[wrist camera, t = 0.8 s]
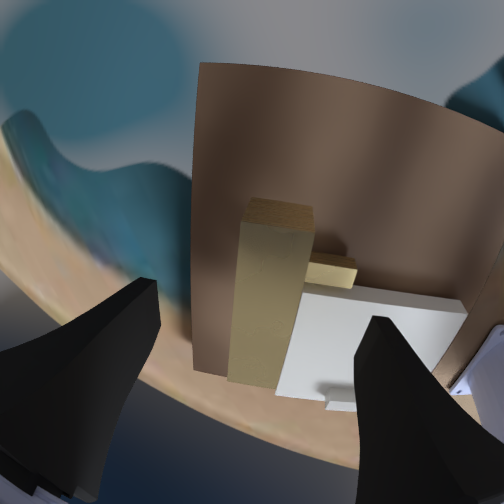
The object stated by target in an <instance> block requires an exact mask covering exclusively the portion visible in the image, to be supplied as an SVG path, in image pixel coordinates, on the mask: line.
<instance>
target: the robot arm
mask: <svg viewBox="0 0 504 504" xmlns="http://www.w3.org/2000/svg"><path fill="white" fill-rule="evenodd" d="M160 327H161V320H160V311H159V301H158V291H157V280H152V279H147V278H143V277H140V278H138V279H136V280H135V281H133V282H131V283H130V284H128V285H127V286H125V287H124V288H122V289H121V290H119V291H118V292H116V293H115V294H113V295H112V296H110V297H109V298H107V299H106V300H104V301H103V302H101V303H100V304H98V305H97V306H95V307H93V308H92V309H90V310H89V311H87V312H85V313H84V314H82V315H80V316H79V317H77V318H75V319H74V320H72V321H70V322H68V323H67V324H65V325H63V326H61V327H59V328H58V329H55V330H53V331H51V332H49V333H47V334H45V335H43V336H41V337H39V338H36V339H34V340H31V341H29V342H26V343H24V344H21V345H19V346H16V347H13V348H10V349H7V350H4V351H1V352H0V504H68V503H67V502H65V501H63V500H61V499H60V497H61V495H64V496H66V497H68V498H70V499H71V498H72V497H73V496H75V497H77V498H79V499H81V500H83V501H85V502H87V503H91V502H94V501H96V500H97V499H98V493H99V487H100V482H101V477H102V472H103V468H104V464H105V460H106V457H107V453H108V449H109V445H110V443H111V439H112V436H113V433H114V429H115V427H116V424H117V421H118V418H119V415H120V413H121V410H122V407H123V405H124V403H125V401H126V398H127V396H128V394H129V393H130V391H131V389H132V387H133V385H134V383H135V381H136V379H137V377H138V375H139V373H140V372H141V370H142V368H143V366H144V364H145V362H146V360H147V358H148V356H149V354H150V352H151V350H152V348H153V346H154V343H155V340H156V338H157V335H158V332H159V330H160ZM354 391H355V399H356V408H357V417H358V426H359V437H360V462H359V477H358V488H357V496H356V503H355V504H504V325H497V326H495V327H494V328H493V329H492V331H491V333H490V334H489V336H488V337H487V339H486V340H485V342H484V343H483V345H482V346H481V348H480V349H479V351H478V352H477V354H476V355H475V357H474V358H473V359H472V361H471V362H470V364H469V365H468V366H467V368H466V369H465V370H464V372H463V373H462V374H461V376H460V377H459V378H458V379H457V381H456V382H455V383H454V385H453V386H452V387H451V388H450V390H449V393H450V395H465V394H472V396H473V399H474V402H475V405H476V408H477V411H478V415H479V418H480V421H481V424H482V426H481V425H480V424H479V423H477V422H476V421H475V420H474V419H473V418H472V417H471V416H470V415H469V414H468V413H467V412H466V411H465V410H463V409H462V408H461V407H460V405H459V404H458V403H457V402H456V401H455V400H454V399H453V398H452V397H451V396H450V395H449V394H448V393H447V391H446V390H445V389H444V388H443V387H442V386H441V384H440V383H439V382H438V381H437V380H436V378H435V377H434V376H433V375H432V374H431V372H430V371H429V370H428V368H427V367H426V366H425V365H424V363H423V362H422V361H421V359H420V358H419V357H418V355H417V354H416V353H415V351H414V350H413V348H412V347H411V346H410V344H409V343H408V342H407V340H406V339H405V338H404V336H403V335H402V333H401V332H400V331H399V329H398V328H397V327H396V325H395V324H394V323H393V322H392V320H391V319H390V318H389V317H384V316H375V315H372V317H371V320H370V322H369V324H368V327H367V329H366V331H365V333H364V336H363V338H362V340H361V342H360V344H359V346H358V348H357V351H356V353H355V355H354Z"/></svg>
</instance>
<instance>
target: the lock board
mask: <svg viewBox="0 0 504 504" xmlns="http://www.w3.org/2000/svg"><path fill="white" fill-rule="evenodd" d="M251 197H256V198H263V199H269V200H276V201H282V202H289V203H295V204H301V205H307V206H313V215H314V225H315V237H314V241H313V246H312V250H311V251H315V252H321V253H327V254H333V255H339V256H345V257H351V258H354V259H355V262H356V266H357V273H356V276H355V279H354V283H353V285H356V286H363V287H369V288H376V289H383V290H390V291H397V292H404V293H411V294H418V295H425V296H432V297H440V298H447V299H454V300H460V301H461V303H462V304H463V306H464V308H465V310H466V311H467V313H468V315H469V313H470V311H471V310H472V308H473V306H474V304H475V302H476V300H477V299H478V297H479V295H480V293H481V291H482V289H483V287H484V285H485V283H486V281H487V279H488V277H489V274H490V272H491V270H492V268H493V266H494V264H495V261H496V259H497V257H498V254H499V252H500V250H501V247H502V245H503V242H504V133H503V132H501V131H498V130H496V129H494V128H492V127H490V126H488V125H486V124H484V123H481V122H479V121H477V120H475V119H472V118H470V117H468V116H465V115H463V114H460V113H458V112H455V111H453V110H450V109H447V108H445V107H442V106H439V105H437V104H434V103H431V102H428V101H425V100H422V99H419V98H416V97H413V96H410V95H406V94H403V93H400V92H397V91H393V90H390V89H386V88H382V87H379V86H375V85H371V84H367V83H363V82H358V81H354V80H350V79H345V78H340V77H335V76H330V75H325V74H319V73H313V72H307V71H301V70H293V69H286V68H278V67H269V66H259V65H246V64H230V63H200V67H199V77H198V89H197V101H196V115H195V129H194V147H193V169H192V195H191V320H192V348H193V369H194V370H196V371H200V372H205V373H209V374H214V375H219V376H224V377H227V375H228V362H229V350H230V338H231V326H232V314H233V302H234V291H235V279H236V268H237V257H238V246H239V236H240V225H241V220H242V217H243V215H244V213H245V211H246V208H247V206H248V204H249V202H250V199H251ZM468 315H467V317H468ZM467 317H466V319H467ZM466 319H465V320H466ZM464 322H465V321H464ZM464 322H463V324H464ZM463 324H462V325H463ZM461 327H462V326H461ZM461 327H460V329H461ZM460 329H459V331H460ZM459 331H458V332H459ZM458 332H457V334H458ZM457 334H456V335H457ZM455 337H456V336H455ZM455 337H454V339H455ZM454 339H453V340H454ZM452 342H453V341H452ZM452 342H451V344H452ZM451 344H450V345H451ZM450 345H449V347H450ZM449 347H448V348H449ZM448 348H447V350H448ZM447 350H446V351H447ZM445 353H446V352H445ZM445 353H444V354H445ZM443 356H444V355H443ZM443 356H442V357H443ZM441 359H442V358H441ZM441 359H440V360H441ZM439 362H440V361H439ZM439 362H438V363H439ZM437 365H438V364H437ZM437 365H436V366H437ZM436 366H435V368H436ZM435 368H434V369H435ZM434 369H433V370H434ZM432 372H433V371H432ZM432 372H431V373H432Z"/></svg>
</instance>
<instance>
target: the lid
mask: <svg viewBox="0 0 504 504" xmlns="http://www.w3.org/2000/svg"><path fill="white" fill-rule="evenodd" d="M372 315H375V316H384V317H389V318H390V319H391V320H392V322H393V323H394V324H395V325H396V327H397V328H398V329H399V331H400V332H401V333H402V335H403V336H404V338H405V339H406V340H407V342H408V343H409V344H410V346H411V347H412V348H413V350H414V351H415V353H416V354H417V355H418V357H419V358H420V359H421V361H422V362H423V363H424V365H425V366H426V367H427V368H428V370H429V371H430V372H432V371H433V369H434V368H435V366H436V365H437V364H438V362H439V361H440V359H441V358H442V356H443V355H444V353H445V352H446V350H447V348H448V347H449V345H450V344H451V342H452V341H453V339H454V337H455V336H456V334H457V332H458V331H459V329H460V327H461V326H462V324H463V322H464V321H465V319H466V317H467V315H468V313H467V311H466V310H465V308H464V306H463V304H462V303H461V301H460V300H454V299H447V298H440V297H432V296H425V295H418V294H411V293H404V292H397V291H390V290H383V289H376V288H369V287H363V286H356V285H353V286H352V288H351V289H348V288H341V287H335V286H328V285H322V284H315V283H309V282H304V285H303V289H302V293H301V298H300V302H299V306H298V310H297V314H296V318H295V321H294V325H293V329H292V333H291V337H290V341H289V344H288V348H287V352H286V355H285V359H284V363H283V366H282V370H281V373H280V377H279V380H278V384H277V387H276V390H275V395H278V396H286V397H294V398H302V399H311V400H321V401H325V410H336V411H353V412H357V408H356V399H355V391H354V355H355V353H356V351H357V348H358V346H359V344H360V342H361V340H362V338H363V336H364V333H365V331H366V329H367V327H368V324H369V322H370V320H371V317H372Z"/></svg>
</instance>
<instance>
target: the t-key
mask: <svg viewBox="0 0 504 504" xmlns="http://www.w3.org/2000/svg"><path fill="white" fill-rule="evenodd" d="M314 237H315V225H314V215H313V206H307V205H301V204H295V203H289V202H282V201H276V200H269V199H263V198H256V197H251V199H250V202H249V204H248V206H247V208H246V211H245V213H244V215H243V217H242V220H241V225H240V236H239V246H238V257H237V268H236V279H235V291H234V302H233V314H232V326H231V338H230V350H229V362H228V375H227V381H229V382H234V383H240V384H246V385H251V386H257V387H264V388H270V389H276V387H277V384H278V380H279V377H280V373H281V370H282V366H283V363H284V359H285V355H286V352H287V348H288V344H289V341H290V337H291V333H292V329H293V325H294V321H295V318H296V314H297V310H298V306H299V302H300V298H301V293H302V289H303V285H304V282H309V283H315V284H322V285H328V286H335V287H341V288H348V289H351V288H352V286H353V283H354V279H355V276H356V273H357V266H356V262H355V259H354V258H351V257H345V256H339V255H333V254H327V253H321V252H315V251H311V250H312V246H313V241H314Z"/></svg>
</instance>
